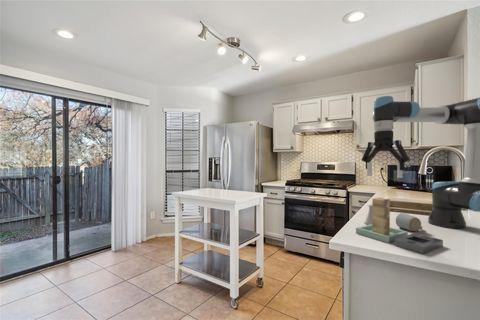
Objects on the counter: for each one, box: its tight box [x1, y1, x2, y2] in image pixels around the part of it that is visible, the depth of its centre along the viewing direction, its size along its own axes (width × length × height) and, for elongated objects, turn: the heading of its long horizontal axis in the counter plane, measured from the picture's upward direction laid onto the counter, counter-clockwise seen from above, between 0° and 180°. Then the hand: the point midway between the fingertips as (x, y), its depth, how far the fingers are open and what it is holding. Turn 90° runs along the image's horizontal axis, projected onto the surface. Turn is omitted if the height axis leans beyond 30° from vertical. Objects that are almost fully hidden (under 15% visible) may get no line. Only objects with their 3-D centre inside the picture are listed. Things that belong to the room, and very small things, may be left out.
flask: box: [364, 204, 372, 225], centre depth 125 cm, size 7×7×10 cm
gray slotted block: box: [393, 232, 444, 255], centre depth 94 cm, size 16×10×3 cm, turn 119°
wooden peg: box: [371, 197, 391, 235], centre depth 107 cm, size 5×5×16 cm
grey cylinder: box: [395, 212, 423, 232], centre depth 116 cm, size 11×8×8 cm
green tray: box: [355, 224, 409, 244], centre depth 107 cm, size 15×15×2 cm
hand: (383, 176), depth 107 cm, fingers open, 13 cm apart
